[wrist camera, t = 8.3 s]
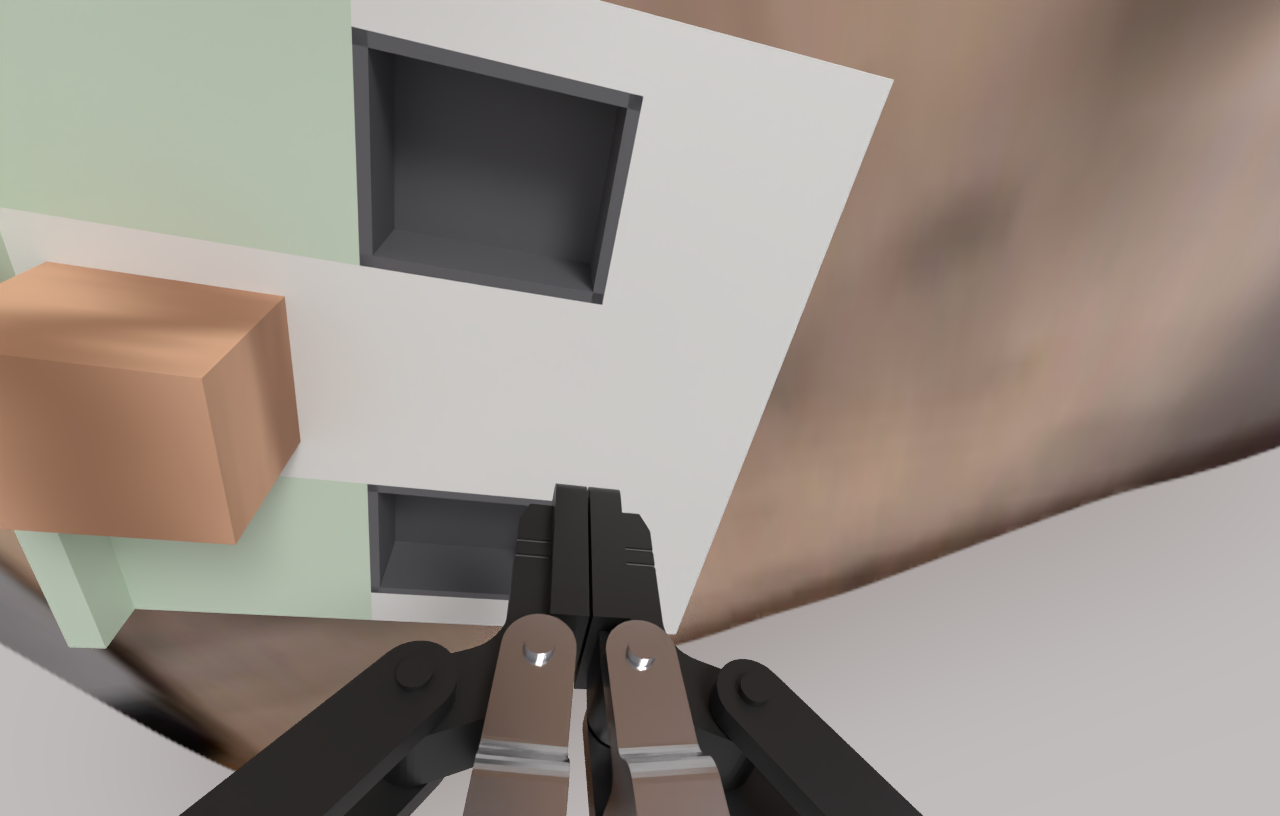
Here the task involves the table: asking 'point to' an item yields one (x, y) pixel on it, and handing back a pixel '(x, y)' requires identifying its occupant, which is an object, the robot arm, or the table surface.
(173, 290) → the block
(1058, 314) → the table surface
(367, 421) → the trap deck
